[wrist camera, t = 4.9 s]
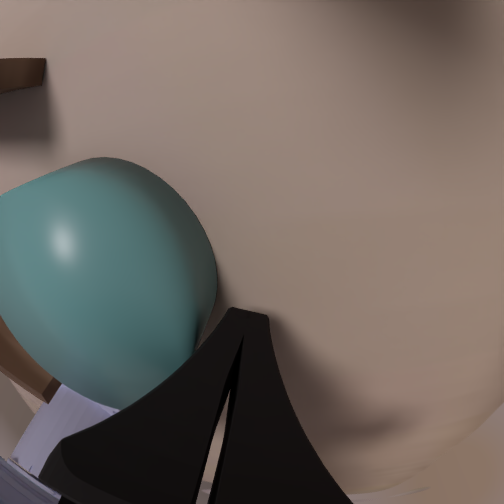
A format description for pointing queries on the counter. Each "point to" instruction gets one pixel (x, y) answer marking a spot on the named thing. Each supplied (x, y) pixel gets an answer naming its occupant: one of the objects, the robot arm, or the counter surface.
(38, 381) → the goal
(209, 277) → the teal flat rounded lump
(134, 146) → the counter surface
